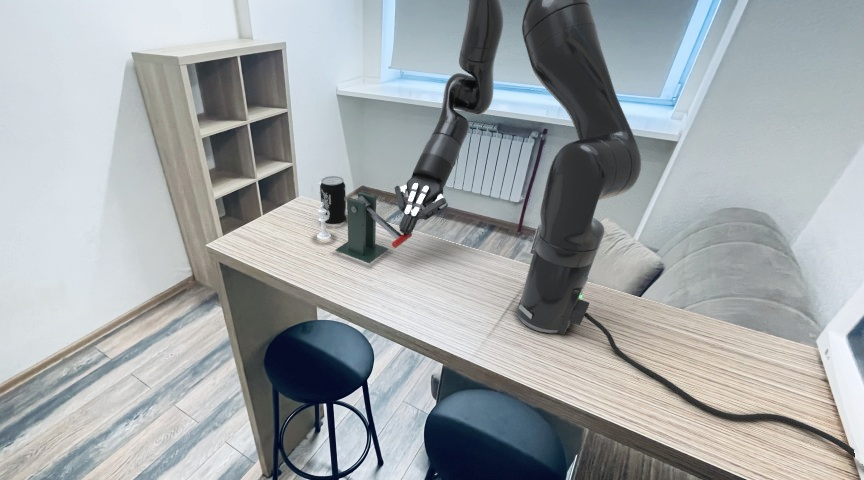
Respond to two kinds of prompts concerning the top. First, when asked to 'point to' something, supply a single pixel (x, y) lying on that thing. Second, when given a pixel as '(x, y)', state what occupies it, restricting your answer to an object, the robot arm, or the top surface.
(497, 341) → the top surface
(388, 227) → the lever
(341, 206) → the beverage can
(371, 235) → the bracket
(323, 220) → the chess piece
